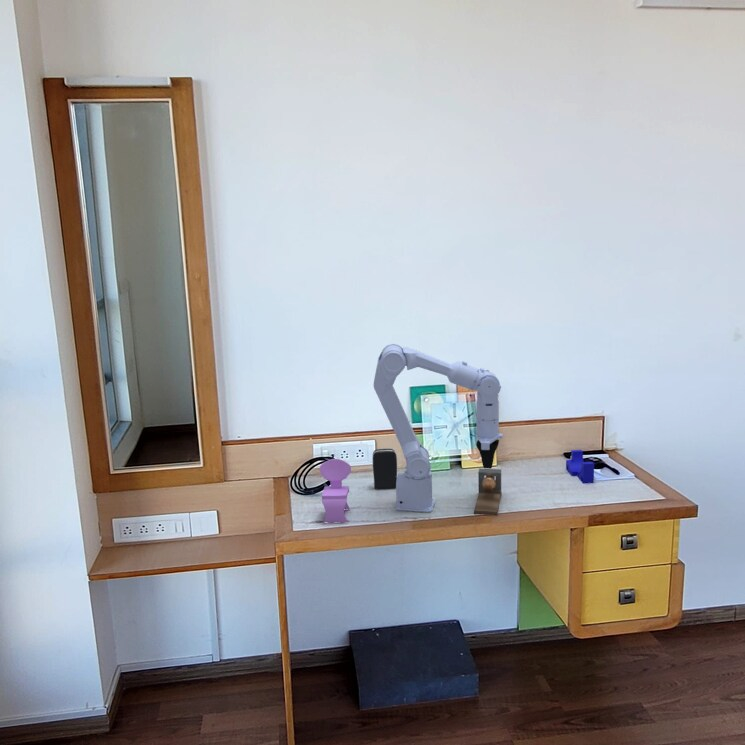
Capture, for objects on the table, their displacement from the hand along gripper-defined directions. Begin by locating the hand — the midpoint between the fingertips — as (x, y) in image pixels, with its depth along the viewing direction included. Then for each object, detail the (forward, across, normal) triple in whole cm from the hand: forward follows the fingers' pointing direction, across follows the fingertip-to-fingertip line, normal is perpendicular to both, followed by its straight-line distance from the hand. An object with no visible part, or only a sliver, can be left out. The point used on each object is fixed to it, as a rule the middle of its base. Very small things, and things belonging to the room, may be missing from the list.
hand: (487, 467), depth 185 cm
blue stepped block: (+11, +25, -24) cm, 36 cm away
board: (+10, +1, 0) cm, 10 cm away
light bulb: (+8, +7, 0) cm, 10 cm away
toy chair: (+11, -14, +38) cm, 42 cm away
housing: (+9, +6, 0) cm, 11 cm away
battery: (+11, +8, +30) cm, 33 cm away
